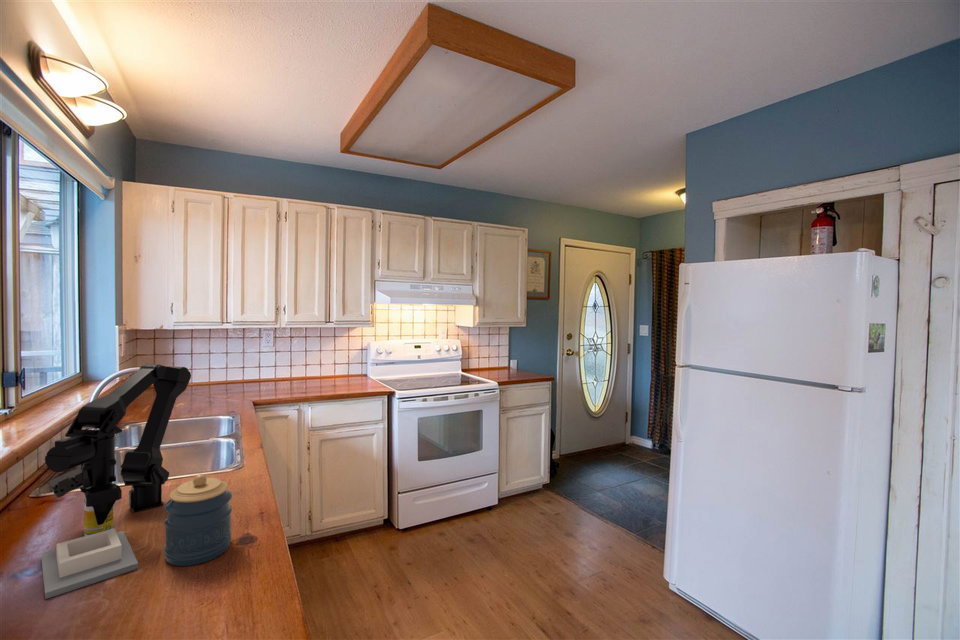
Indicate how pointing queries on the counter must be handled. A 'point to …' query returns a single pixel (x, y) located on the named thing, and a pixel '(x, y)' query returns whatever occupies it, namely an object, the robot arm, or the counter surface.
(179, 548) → the canister
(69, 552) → the socket board
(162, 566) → the counter surface
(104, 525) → the supplement bottle
